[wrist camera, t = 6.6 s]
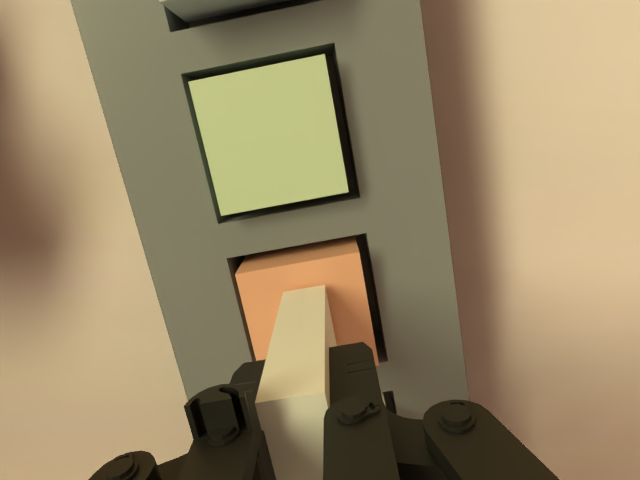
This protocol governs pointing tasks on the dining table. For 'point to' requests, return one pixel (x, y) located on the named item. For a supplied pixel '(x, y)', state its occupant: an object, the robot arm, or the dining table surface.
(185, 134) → the keypad
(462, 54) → the dining table surface
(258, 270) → the key terracotta
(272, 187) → the key sage
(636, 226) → the dining table surface
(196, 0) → the key greyblue
